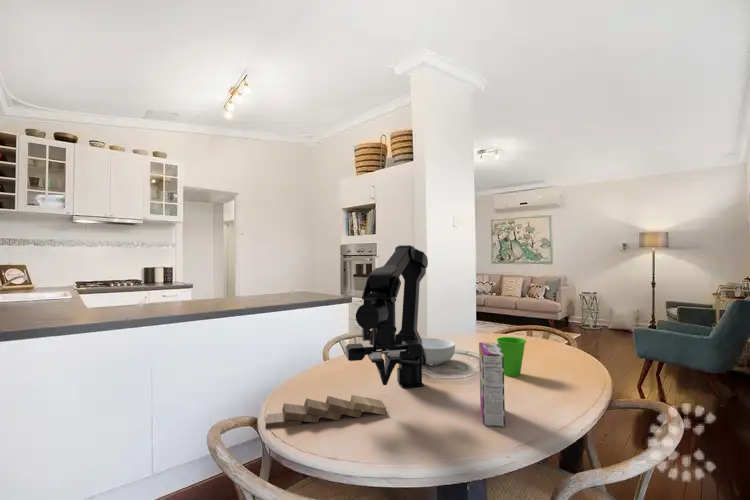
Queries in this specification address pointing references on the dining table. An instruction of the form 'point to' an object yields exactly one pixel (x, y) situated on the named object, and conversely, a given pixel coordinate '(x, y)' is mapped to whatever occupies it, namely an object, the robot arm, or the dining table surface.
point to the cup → (512, 354)
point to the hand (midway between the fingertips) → (384, 384)
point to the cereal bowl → (437, 350)
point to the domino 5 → (368, 404)
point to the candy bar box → (492, 384)
